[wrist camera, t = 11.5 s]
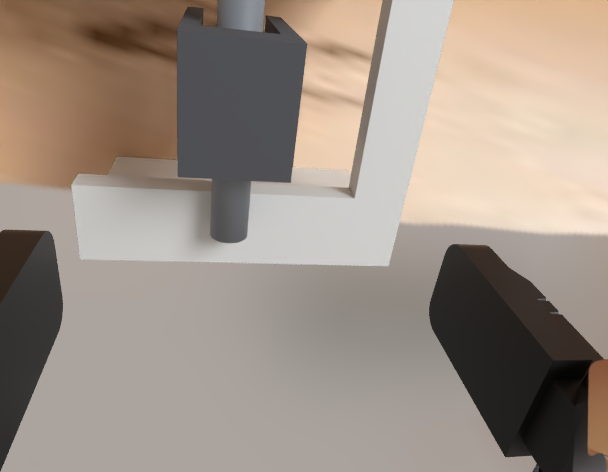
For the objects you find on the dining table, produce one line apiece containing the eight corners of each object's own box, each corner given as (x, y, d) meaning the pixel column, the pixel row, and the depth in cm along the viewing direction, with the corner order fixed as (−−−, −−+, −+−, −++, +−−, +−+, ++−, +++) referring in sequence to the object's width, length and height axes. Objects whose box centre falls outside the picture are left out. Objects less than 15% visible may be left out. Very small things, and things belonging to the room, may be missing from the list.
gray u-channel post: (187, 6, 26) (176, 29, 18) (280, 17, 27) (307, 43, 19) (187, 117, 29) (177, 177, 21) (270, 123, 30) (290, 182, 22)
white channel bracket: (95, -154, 28) (2, -234, 16) (396, -102, 31) (509, -135, 19) (117, 175, 37) (70, 280, 25) (345, 186, 41) (398, 284, 29)
